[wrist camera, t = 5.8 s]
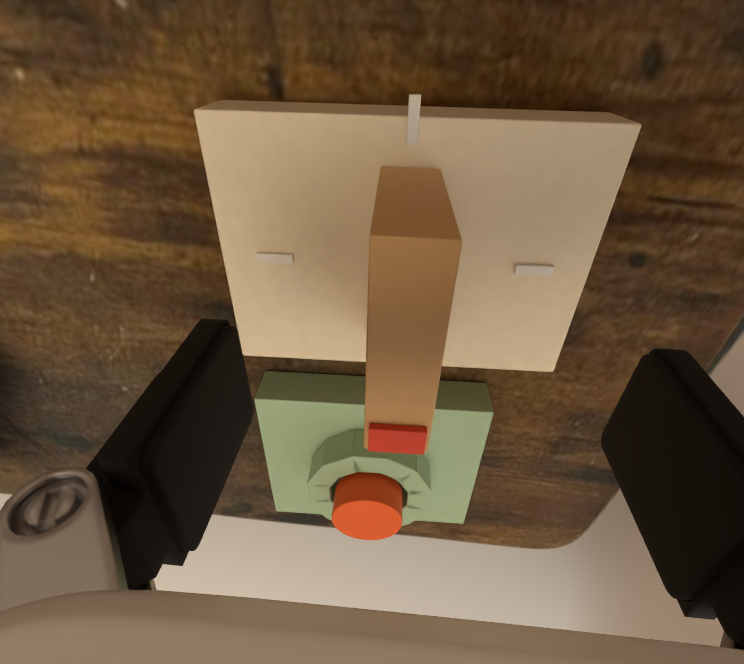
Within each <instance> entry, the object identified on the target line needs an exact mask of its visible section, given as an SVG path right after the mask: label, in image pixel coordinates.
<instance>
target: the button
mask: <svg viewBox="0 0 744 664" xmlns="http://www.w3.org/2000/svg"><path fill="white" fill-rule="evenodd" d="M332 522H333V524H334V526H335V527H336V528H337V529H338V530H339V531H340V532H342V533H344V534H346V535H348V536H350V537H353V538H357V539H364V540H378V539H383V538H387V537H390V536H392V535H394V534H395V533H397V532H398V531H399V529H400V528H401V526H402V489H401V486H400V485H399V483H398V482H397V481H396V480H395V479H393V478H391V477H388V476H386V475H384V474H381V473H369V472H356V473H353V474H349V475H346V476H344V477H343V478H341V479H340V480H339V482H338V483H337V485H336V490H335V496H334V503H333V510H332Z"/></svg>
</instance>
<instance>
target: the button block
mask: <svg viewBox="0 0 744 664" xmlns="http://www.w3.org/2000/svg"><path fill="white" fill-rule="evenodd" d="M254 400H255V405H256V410H257V416H258V421H259V426H260V431H261V436H262V441H263V446H264V451H265V456H266V461H267V467H268V472H269V477H270V482H271V487H272V492H273V497H274V502H275V507H276V511H284V512H298V513H313V514H323V515H324V516H325V517H326V518H328V519H330V520H332V510H333V503H334V496H335V490H336V485H337V483H338V482H339V480H340V479H341V478H343V477H344V476H346V475H349V474H353V473H356V472H369V473H381V474H384V475H386V476H388V477H391V478H393V479H395V480H396V481H397V482H398V483H399V485H400V486H401V489H402V526H403V525H407V524H409V523H411V522H413V521H414V520H418V521H433V522H448V523H464V520H465V516H466V512H467V509H468V505H469V501H470V498H471V494H472V490H473V486H474V483H475V479H476V475H477V472H478V468H479V464H480V461H481V457H482V453H483V450H484V446H485V442H486V438H487V435H488V431H489V427H490V424H491V420H492V416H493V409H492V405H491V400H490V396H489V392H488V388H487V384H486V383H477V382H458V381H440V380H439V386H438V392H437V398H436V404H435V410H434V417H433V423H432V429H431V435H430V441H429V447H428V452H424V455H420V454H405V453H390V452H375V451H368V449H366V448H364V411H365V376H350V375H331V374H313V373H295V372H277V371H265V374H264V376H263V379H262V381H261V384H260V386H259V388H258V391H257V393H256V396H255V398H254Z"/></svg>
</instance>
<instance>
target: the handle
mask: <svg viewBox="0 0 744 664" xmlns="http://www.w3.org/2000/svg"><path fill="white" fill-rule="evenodd" d="M461 247H462V238H461V235H460V232H459V228H458V225H457V222H456V218H455V215H454V212H453V208H452V205H451V202H450V198H449V195H448V192H447V189H446V185H445V182H444V179H443V175H442V172H441V169H434V168H412V167H390V166H381V168H380V174H379V180H378V186H377V193H376V199H375V205H374V211H373V217H372V223H371V229H370V235H369V265H368V302H367V338H366V375H365V411H364V448H366V449H368V451H375V452H390V453H405V454H420V455H424V452H428V447H429V441H430V435H431V429H432V423H433V417H434V410H435V404H436V398H437V392H438V386H439V380H440V374H441V368H442V362H443V356H444V350H445V344H446V338H447V332H448V326H449V320H450V314H451V307H452V301H453V295H454V289H455V283H456V277H457V271H458V265H459V259H460V253H461Z"/></svg>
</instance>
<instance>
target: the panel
mask: <svg viewBox="0 0 744 664" xmlns="http://www.w3.org/2000/svg"><path fill="white" fill-rule="evenodd" d="M420 104H421V94H409V105H408V106H398V105H367V104H336V103H305V102H273V101H242V100H220V101H217V102H214V103H211V104H208V105H205V106H202V107H199V108H196V109H194V114H195V119H196V124H197V129H198V134H199V139H200V144H201V149H202V154H203V159H204V164H205V169H206V174H207V179H208V184H209V189H210V194H211V199H212V204H213V209H214V214H215V219H216V224H217V229H218V234H219V239H220V244H221V249H222V254H223V259H224V264H225V269H226V274H227V279H228V284H229V289H230V293H231V298H232V303H233V308H234V313H235V318H236V323H237V328H238V333H239V338H240V343H241V348H242V353H243V355H247V356H266V357H284V358H303V359H321V360H340V361H359V362H366V338H367V302H368V265H369V235H370V229H371V223H372V217H373V211H374V205H375V199H376V193H377V186H378V180H379V174H380V168H381V166H390V167H412V168H434V169H441V172H442V175H443V179H444V182H445V185H446V189H447V192H448V195H449V198H450V202H451V205H452V208H453V212H454V215H455V218H456V222H457V225H458V228H459V232H460V235H461V238H462V247H461V253H460V259H459V265H458V271H457V277H456V283H455V289H454V295H453V301H452V307H451V314H450V320H449V326H448V332H447V338H446V344H445V350H444V356H443V362H442V366H451V367H470V368H488V369H507V370H526V371H544V372H553V371H554V368H555V365H556V362H557V359H558V357H559V354H560V351H561V348H562V346H563V343H564V340H565V337H566V334H567V332H568V329H569V326H570V323H571V320H572V318H573V315H574V312H575V309H576V307H577V304H578V301H579V298H580V295H581V293H582V290H583V287H584V284H585V281H586V279H587V276H588V273H589V270H590V268H591V265H592V262H593V259H594V256H595V254H596V251H597V248H598V245H599V242H600V240H601V237H602V234H603V231H604V229H605V226H606V223H607V220H608V217H609V215H610V212H611V209H612V206H613V203H614V201H615V198H616V195H617V192H618V190H619V187H620V184H621V181H622V178H623V176H624V173H625V170H626V167H627V164H628V162H629V159H630V156H631V153H632V151H633V148H634V145H635V142H636V139H637V137H638V134H639V131H640V128H641V124H640V123H637V122H635V121H632V120H629V119H626V118H623V117H620V116H618V115H615V114H612V113H609V112H584V111H553V110H522V109H491V108H460V107H429V106H420Z"/></svg>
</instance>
